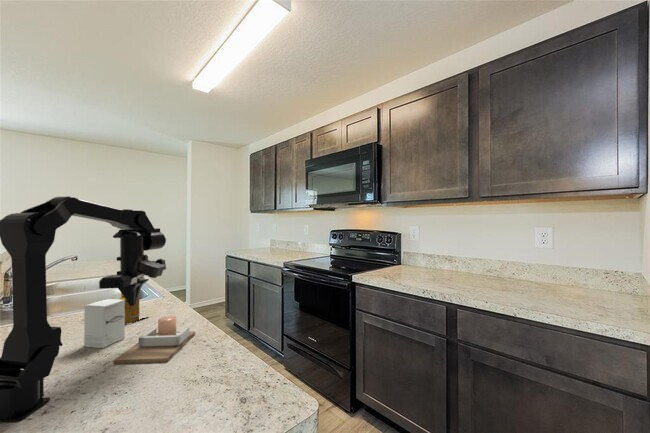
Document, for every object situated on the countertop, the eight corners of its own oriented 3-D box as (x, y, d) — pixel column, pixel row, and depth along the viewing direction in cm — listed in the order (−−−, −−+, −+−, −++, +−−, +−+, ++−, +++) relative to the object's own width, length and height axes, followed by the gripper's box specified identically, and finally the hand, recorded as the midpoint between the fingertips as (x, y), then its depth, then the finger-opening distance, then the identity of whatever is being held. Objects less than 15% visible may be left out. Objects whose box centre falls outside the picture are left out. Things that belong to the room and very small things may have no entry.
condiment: (114, 323, 105) (114, 290, 105) (136, 315, 113) (136, 285, 113) (128, 325, 102) (127, 292, 102) (149, 317, 110) (149, 287, 110)
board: (167, 361, 75) (167, 357, 75) (113, 363, 74) (113, 359, 74) (195, 334, 93) (195, 331, 93) (151, 335, 92) (151, 332, 92)
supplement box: (103, 348, 83) (103, 306, 84) (83, 346, 85) (83, 305, 85) (125, 338, 91) (125, 299, 91) (106, 336, 92) (106, 298, 92)
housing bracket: (178, 345, 82) (178, 336, 82) (138, 346, 82) (138, 338, 82) (189, 335, 89) (189, 327, 89) (152, 336, 89) (152, 328, 89)
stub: (171, 341, 86) (171, 321, 86) (154, 341, 86) (154, 321, 86) (179, 334, 91) (179, 315, 91) (164, 334, 91) (163, 316, 91)
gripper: (141, 256, 74) (141, 315, 74) (175, 248, 92) (175, 296, 92) (97, 257, 73) (97, 316, 73) (140, 249, 92) (140, 297, 92)
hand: (132, 305), depth 83 cm, fingers closed
